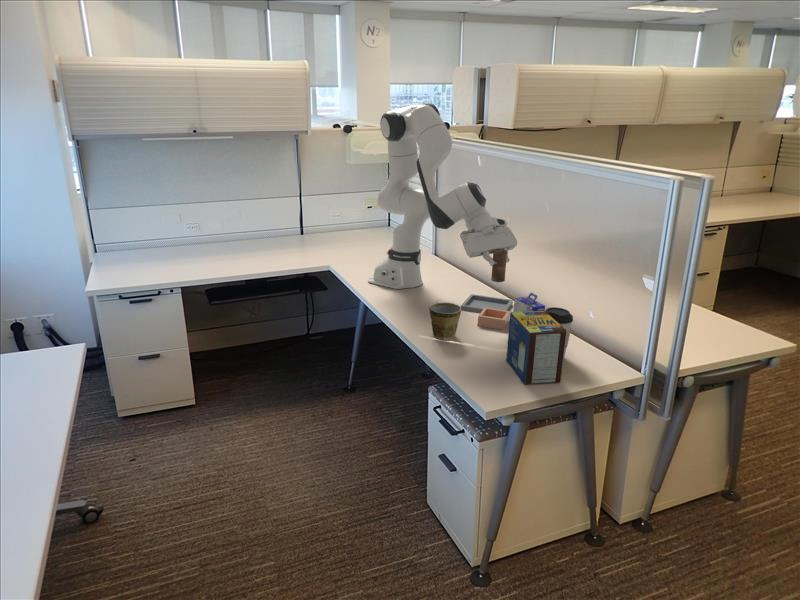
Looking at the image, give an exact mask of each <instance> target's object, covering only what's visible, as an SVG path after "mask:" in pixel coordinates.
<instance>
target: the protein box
mask: <svg viewBox="0 0 800 600" xmlns="http://www.w3.org/2000/svg"><path fill="white" fill-rule="evenodd" d="M508 324H509V325H508V326H509V327H508V336H507V338H508V339H507V347H506V348H507V349H506V359H505V361H506V362H507V363H508V365H509V366H510V367H511V369H512V370H513V371H514V373H515V374H516V376H517V377H518V378H519V379H520V381H521V382H522V383H523V385H541V384H555V383H556V384H557V383H559V384H560V383H561V382H562V381H561V380H562V371H563V370H562V369H563V363H564V360H563V356H564V348H565V340H566V332H567V330H566V329H565V328H563V327H562V326H561V325H560V324H559V323H558V322H557V321H555V320H554V319H553V318H552V317H551V316H550V315H549V314H547V313H546V312H545V311H544V310H543V311H520V312H513V311H510V321H509V323H508Z"/></svg>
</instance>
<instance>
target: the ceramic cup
mask: <svg viewBox="0 0 800 600" xmlns="http://www.w3.org/2000/svg"><path fill="white" fill-rule="evenodd" d="M461 312H462V310H461V305H459V304H455V303H453V302H435V303H432V304H430V305H429V315H430V322H431V328H432V330H431V331H432V335H433V336H434V338H435V340H438V341H442V342H447V341H449V342H450V340H452V339H453V338H455V336H456V332H457V330H458V329H457V328H458V324H459V320H460V317H461Z"/></svg>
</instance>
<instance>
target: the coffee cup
mask: <svg viewBox="0 0 800 600" xmlns="http://www.w3.org/2000/svg"><path fill="white" fill-rule="evenodd" d="M545 312H546V313H547V314H549V315H550V316H551V317H552V318H553V319H554V320H555V321H557V322H558V323H559V324H560V325H561V326H562V327H563V328H565V329H566V330H567V332H566V340H565V348H564V356H563V361H564V360H565V357H566V356H565V355H566V351H567V347H568V345H569V341H570V335H571V330H572V323H573V322H574V316H573V314H572V313H570V311H569V310H568V309H565V308H561V307H556V306H555V307H547V308H545Z"/></svg>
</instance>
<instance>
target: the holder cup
mask: <svg viewBox="0 0 800 600" xmlns="http://www.w3.org/2000/svg"><path fill="white" fill-rule="evenodd" d="M510 312H511V311H510V310H508V311H505V310H498V309H492V308H484V309H483V310H482V312H481V313H480V312H479V315H477V326H478V327H484V328H492V329H497V330H503V331H505V329H506V327H507V326H508V324H509V323H510Z"/></svg>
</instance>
